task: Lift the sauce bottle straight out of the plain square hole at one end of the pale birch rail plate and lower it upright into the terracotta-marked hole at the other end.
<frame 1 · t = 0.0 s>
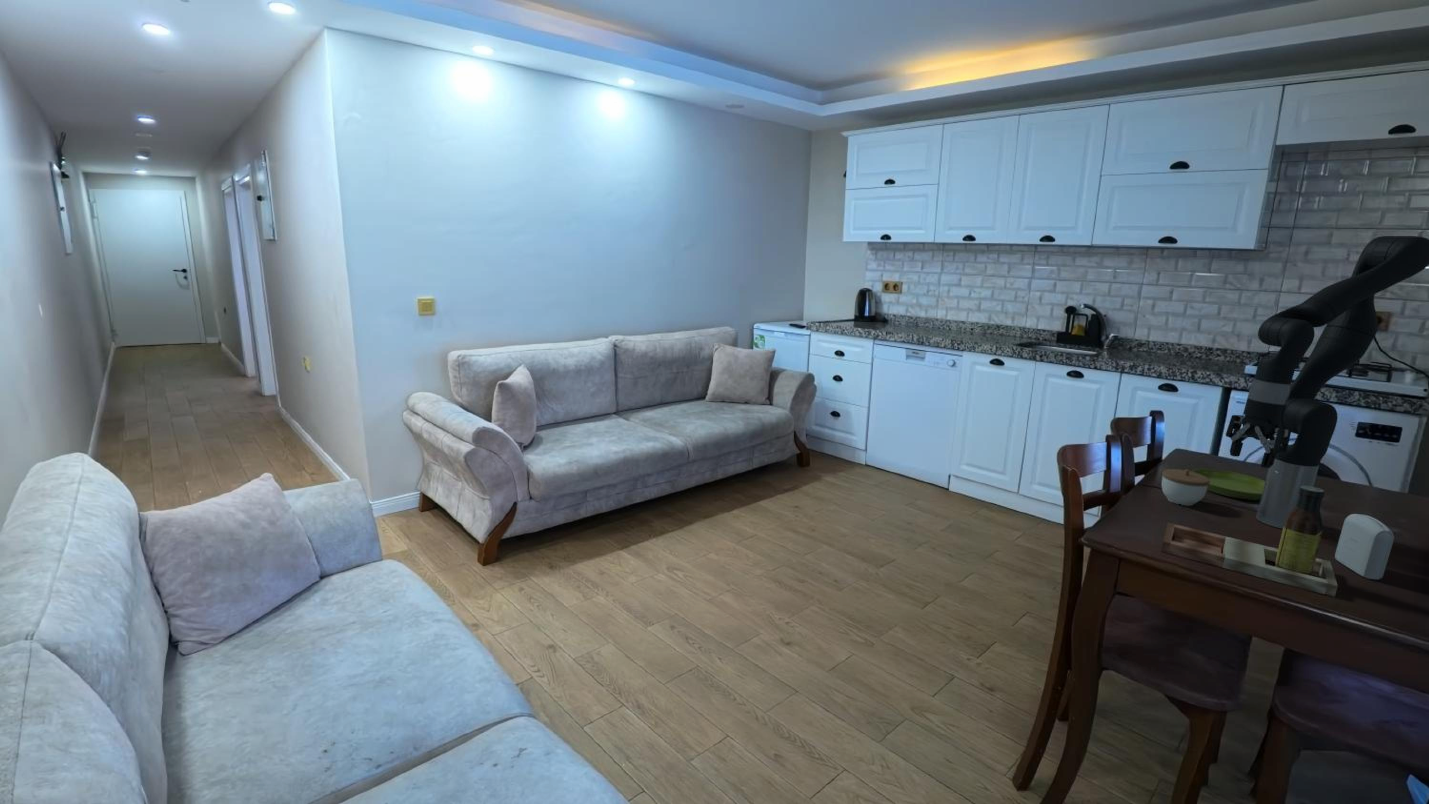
hand: (1249, 461, 164), 17 cm above the table, tool pointing down, fingers open, 8 cm apart
lidded jar: (1180, 502, 183), on the table
photo printer: (1356, 569, 147), on the table
birch rail plate: (1242, 561, 148), on the table
saucer: (1230, 491, 194), on the table
sauce bottle: (1290, 574, 143), resting in birch rail plate
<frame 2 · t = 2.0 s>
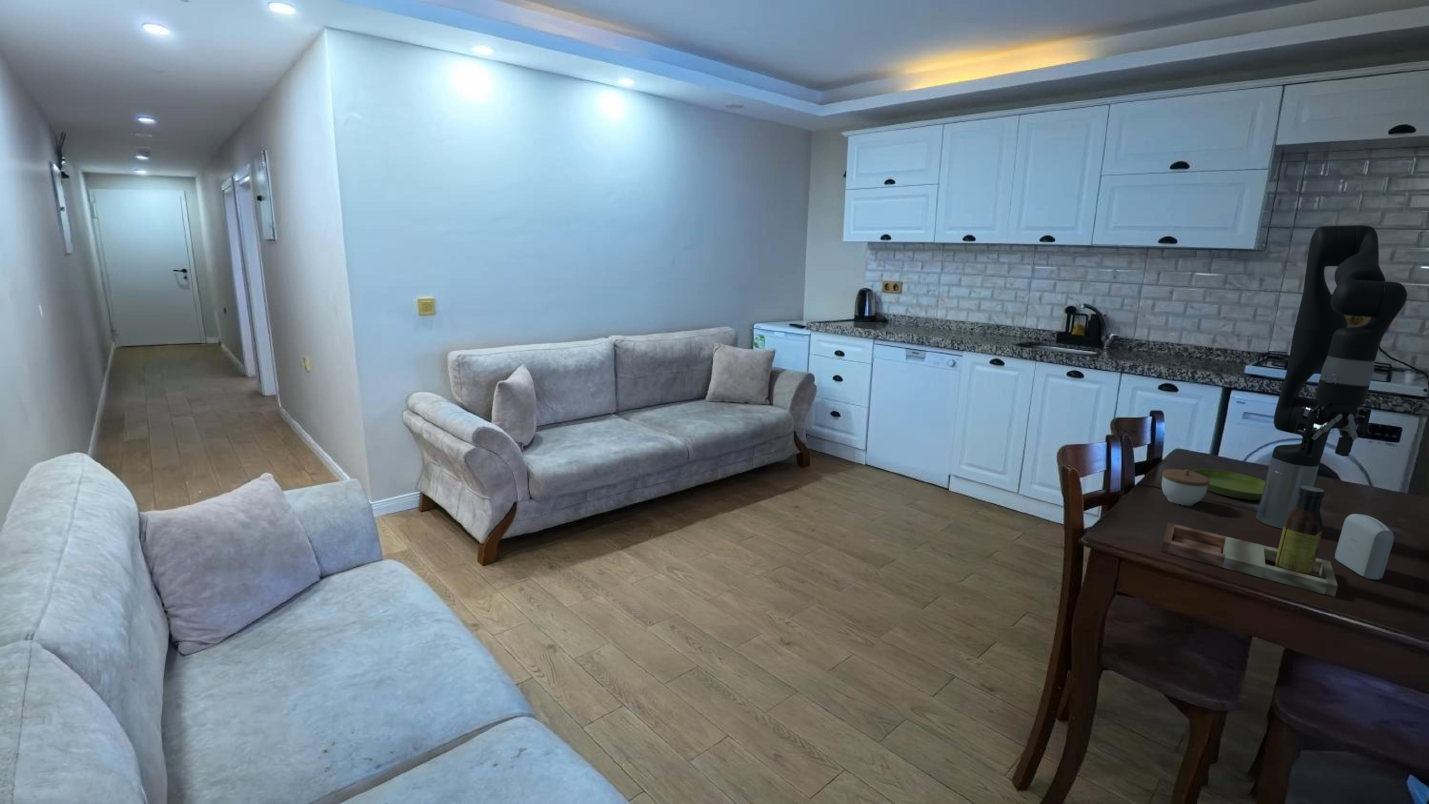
hand: (1323, 455, 137), 27 cm above the table, tool pointing down, fingers open, 8 cm apart
nothing on the table moved.
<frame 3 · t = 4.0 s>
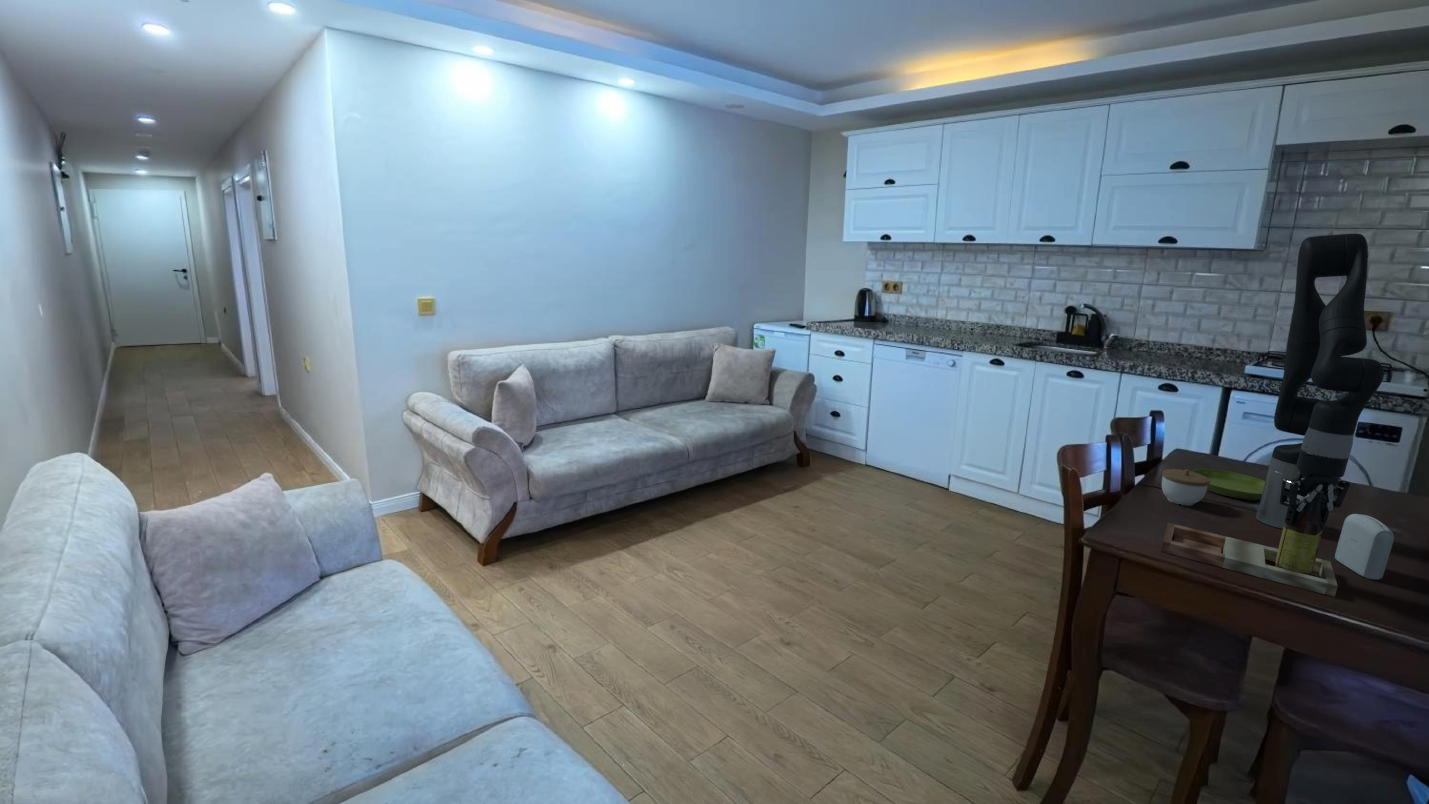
hand: (1304, 524, 141), 12 cm above the table, tool pointing down, fingers closed on sauce bottle, 6 cm apart
sauce bottle: (1290, 574, 143), resting in birch rail plate, touching gripper
everything else where it was.
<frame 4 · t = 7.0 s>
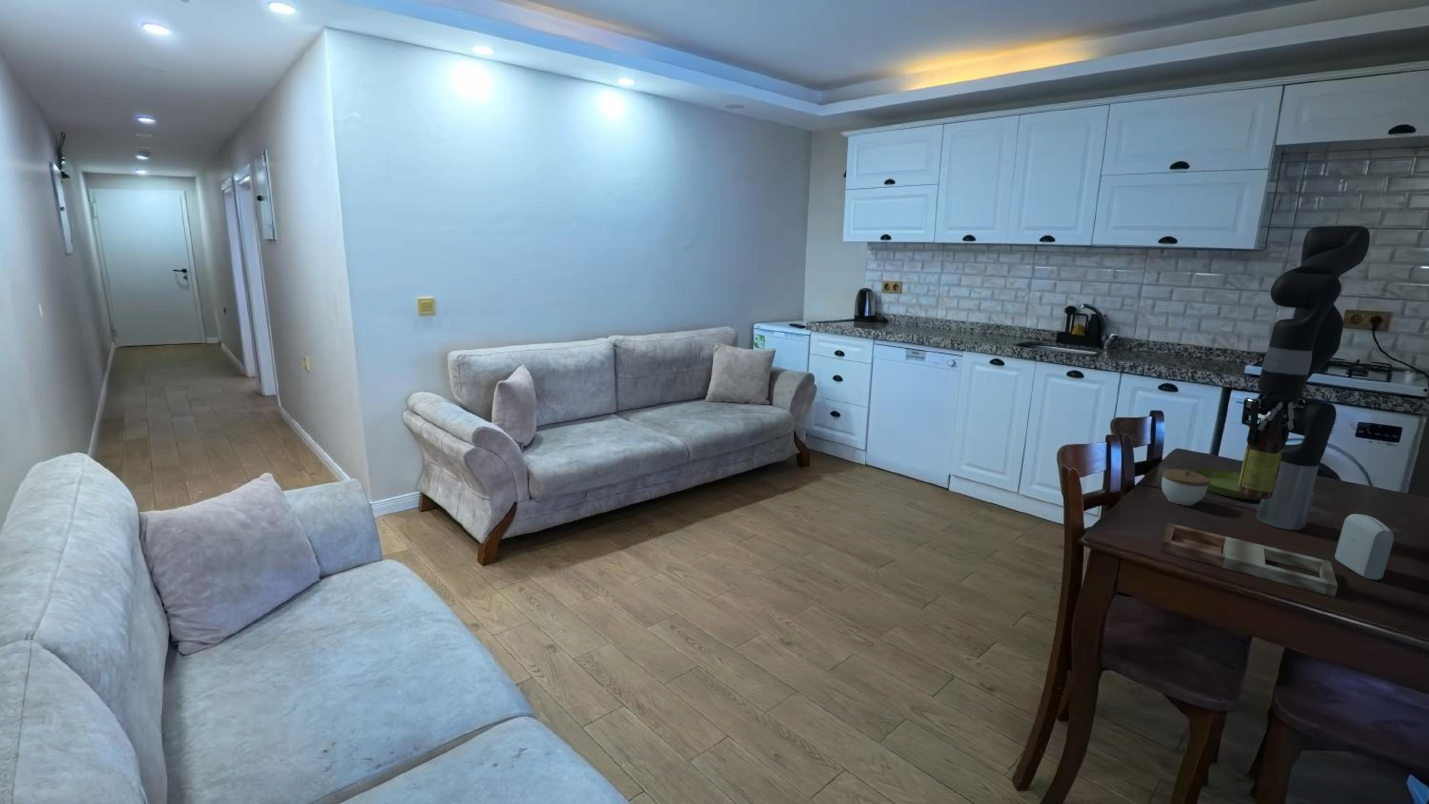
hand: (1265, 444, 142), 28 cm above the table, tool pointing down, fingers closed on sauce bottle, 6 cm apart
sauce bottle: (1253, 495, 145), point 16 cm above the table, touching gripper
everything else where it was.
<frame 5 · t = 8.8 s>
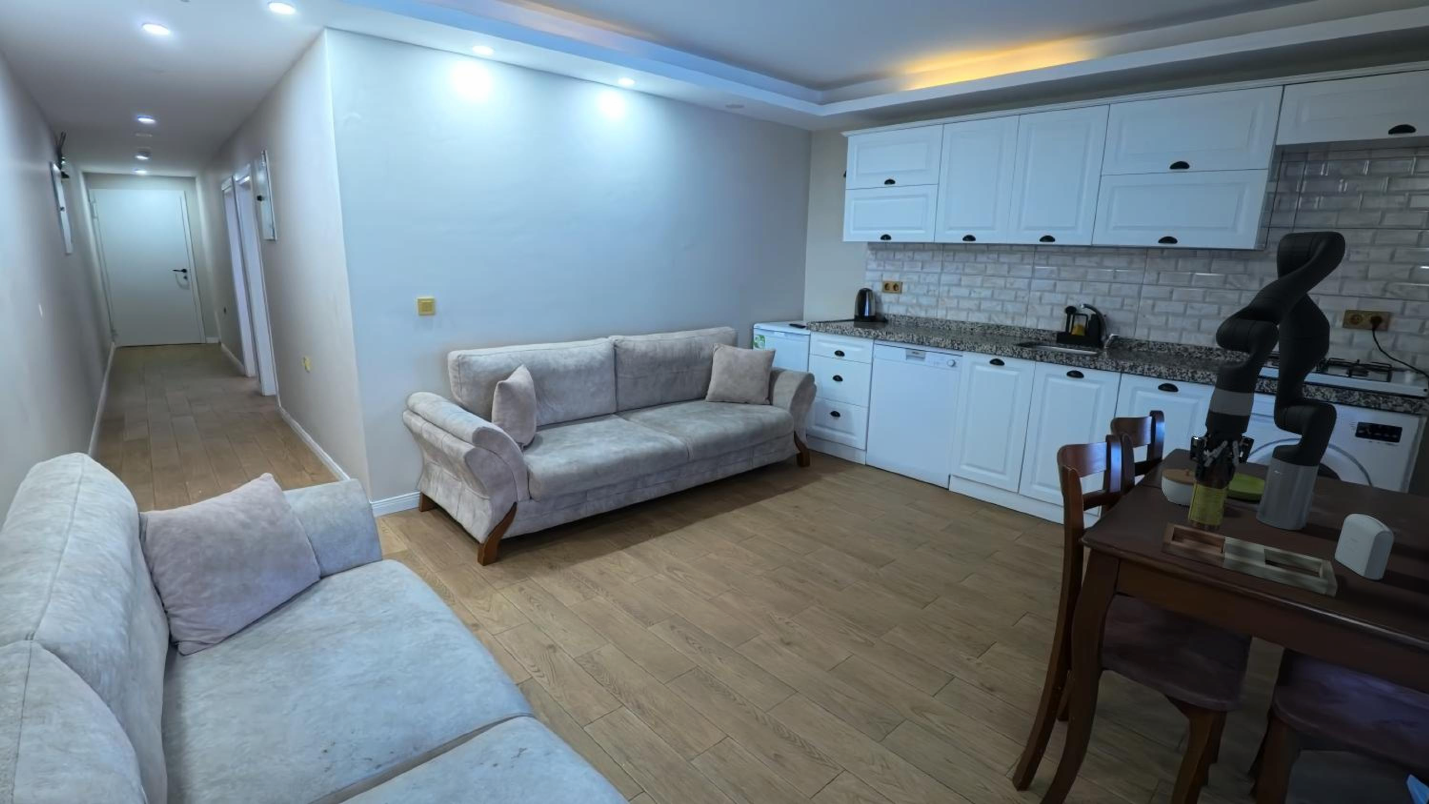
hand: (1213, 480, 149), 17 cm above the table, tool pointing down, fingers closed on sauce bottle, 6 cm apart
sauce bottle: (1202, 527, 152), point 6 cm above the table, touching gripper
everything else where it was.
when the fingers open (13 cm above the table, at t = 10.2 s): sauce bottle stays where it is, resting on birch rail plate.
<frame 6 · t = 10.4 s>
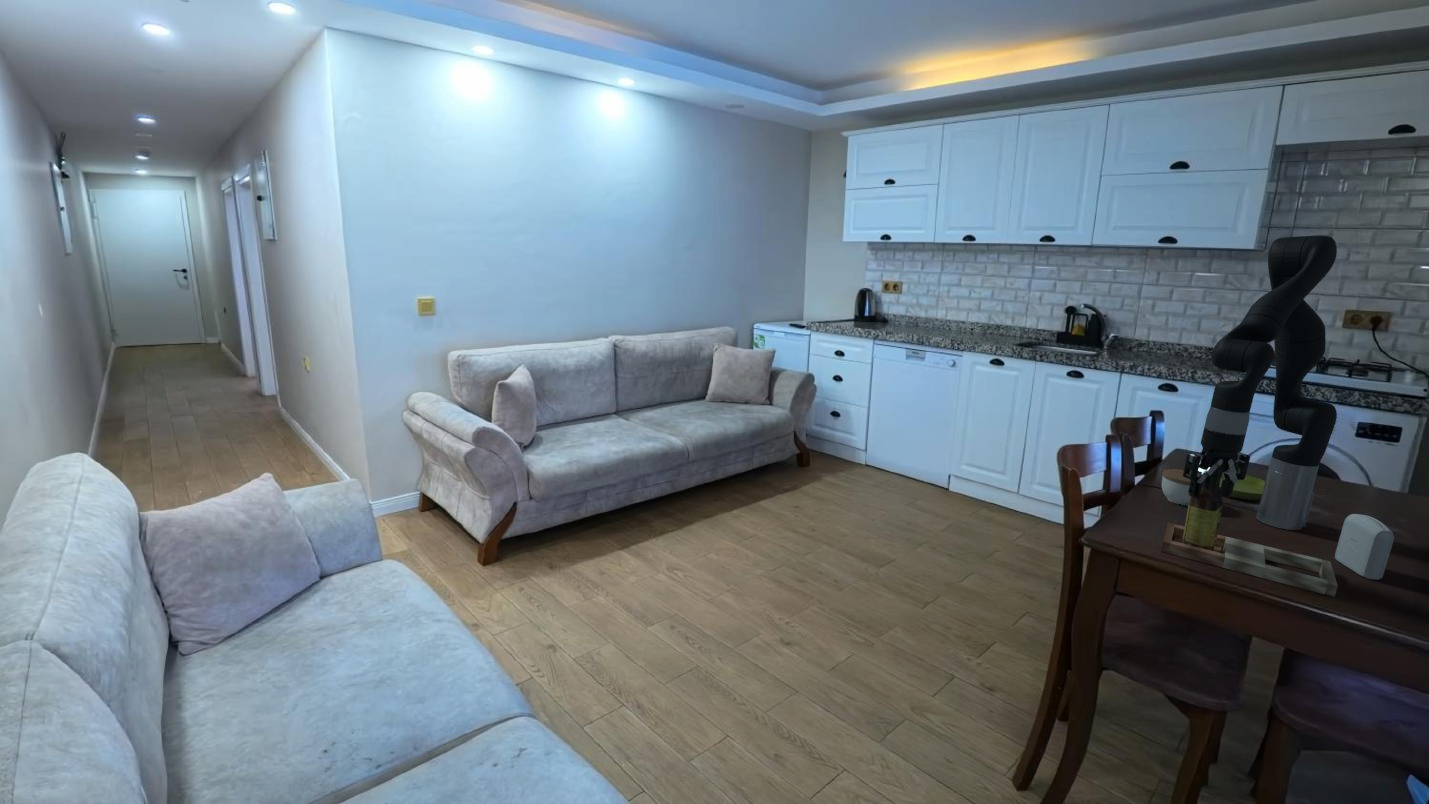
hand: (1209, 496, 150), 13 cm above the table, tool pointing down, fingers open, 7 cm apart
sauce bottle: (1196, 548, 153), resting on birch rail plate
everything else where it was.
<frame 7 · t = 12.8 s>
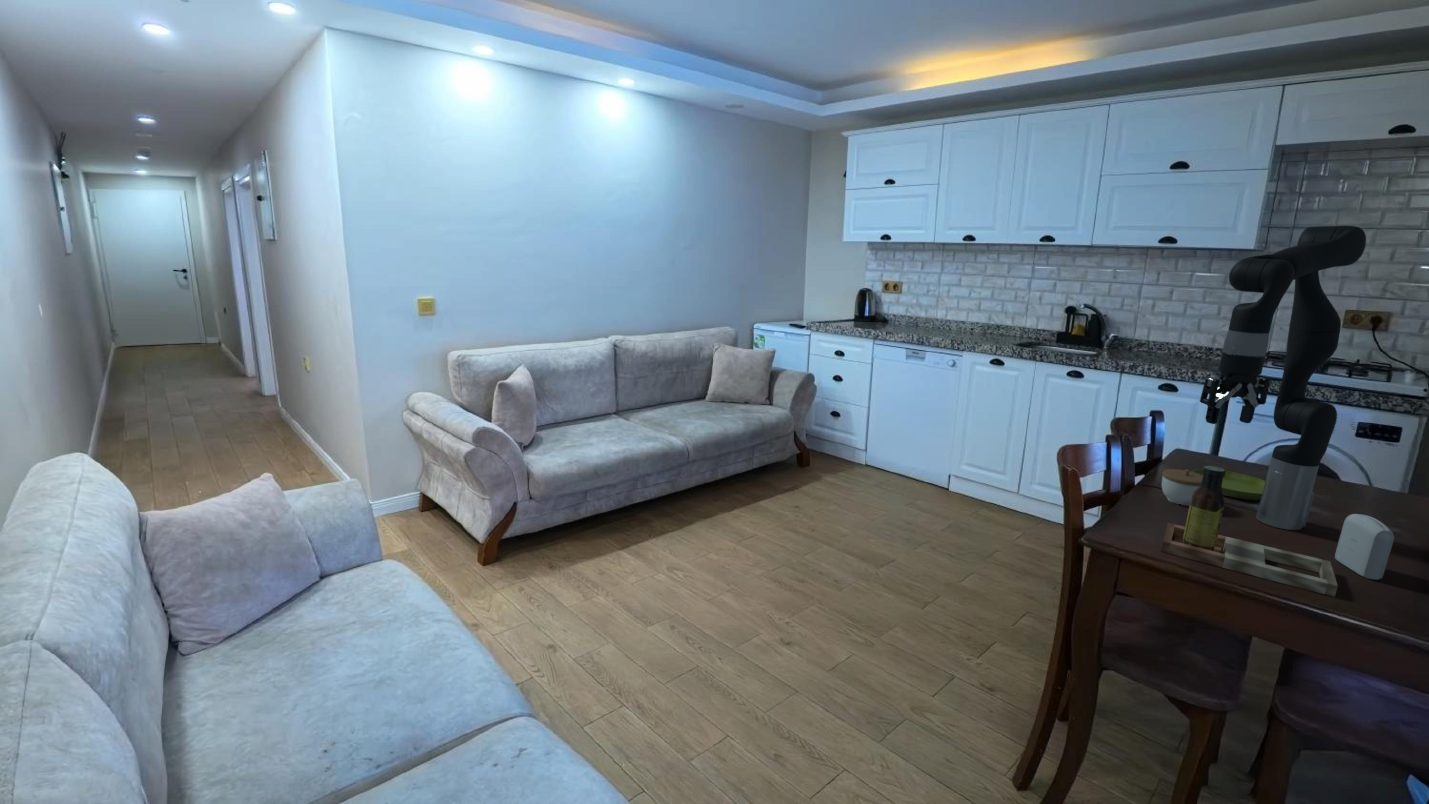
hand: (1227, 422, 147), 31 cm above the table, tool pointing down, fingers open, 8 cm apart
nothing on the table moved.
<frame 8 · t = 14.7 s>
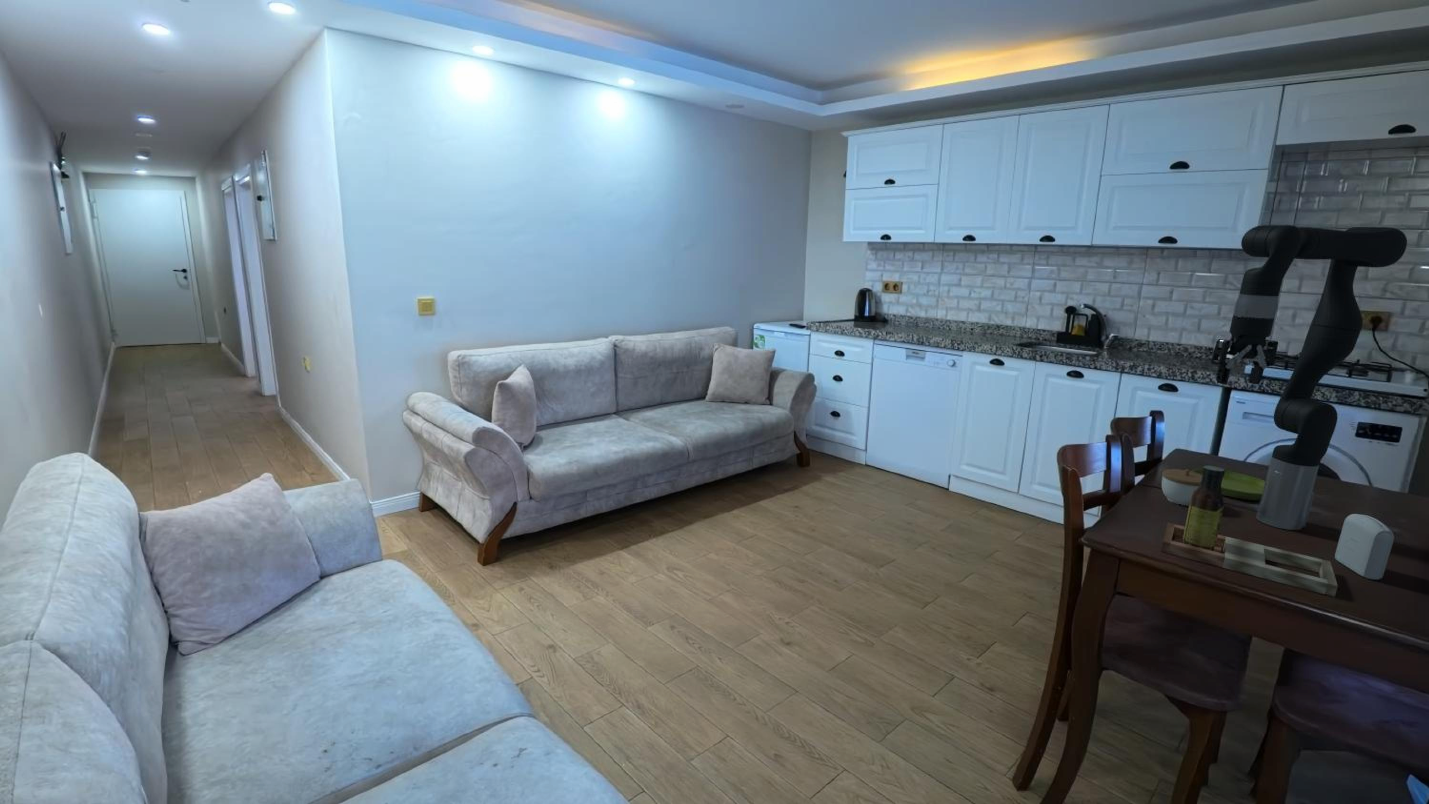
hand: (1237, 383, 154), 38 cm above the table, tool pointing down, fingers open, 8 cm apart
nothing on the table moved.
at the end: sauce bottle 0.1 cm from the target spot, resting on birch rail plate; sauce bottle tilted 0°; the gripper is holding nothing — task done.
